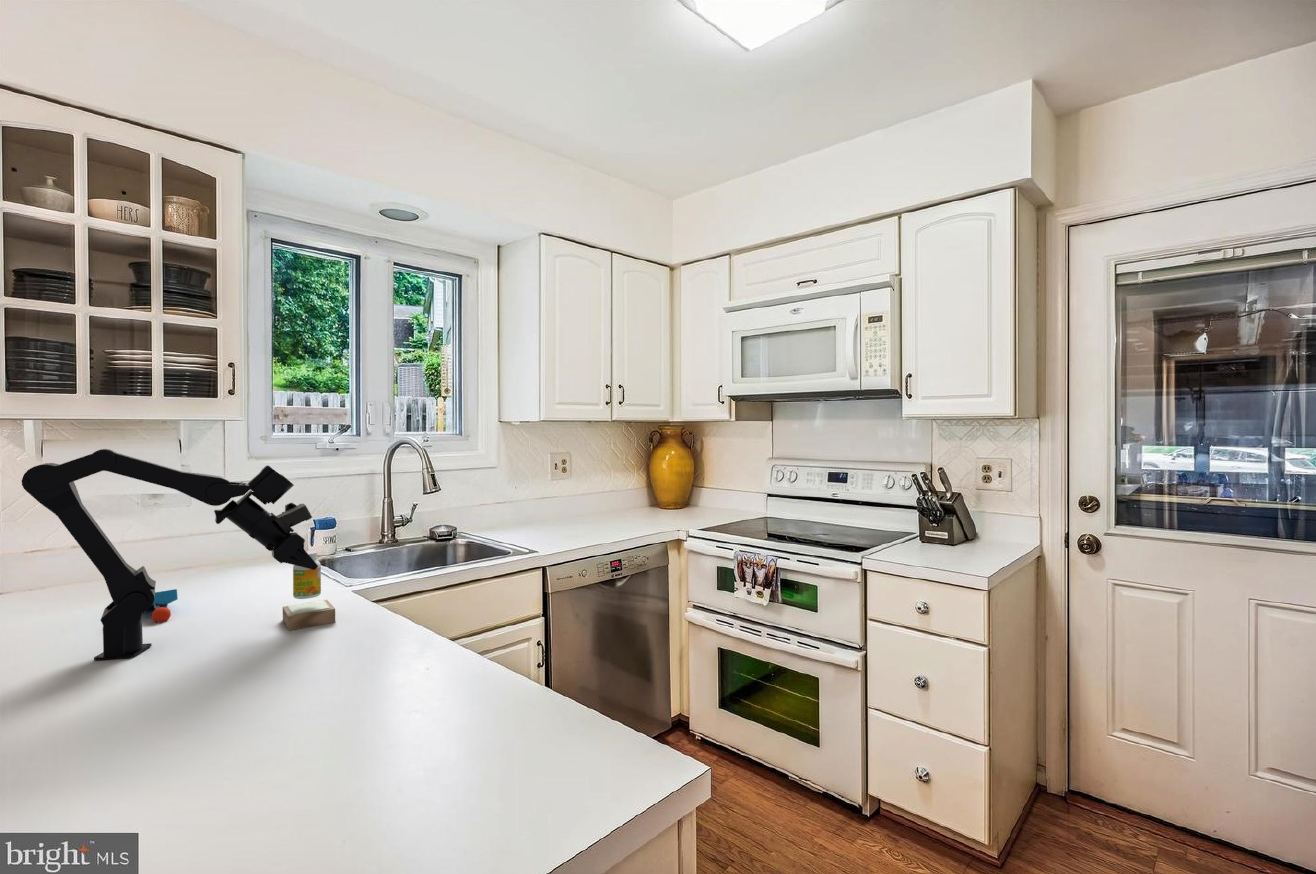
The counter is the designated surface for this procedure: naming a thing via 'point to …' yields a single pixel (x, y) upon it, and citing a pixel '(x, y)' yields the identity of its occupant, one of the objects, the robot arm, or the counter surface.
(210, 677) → the counter surface
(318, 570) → the supplement bottle
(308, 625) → the base brick
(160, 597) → the lever
